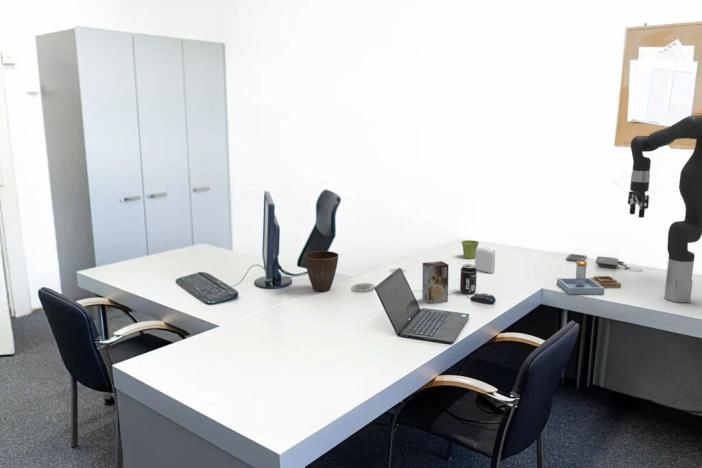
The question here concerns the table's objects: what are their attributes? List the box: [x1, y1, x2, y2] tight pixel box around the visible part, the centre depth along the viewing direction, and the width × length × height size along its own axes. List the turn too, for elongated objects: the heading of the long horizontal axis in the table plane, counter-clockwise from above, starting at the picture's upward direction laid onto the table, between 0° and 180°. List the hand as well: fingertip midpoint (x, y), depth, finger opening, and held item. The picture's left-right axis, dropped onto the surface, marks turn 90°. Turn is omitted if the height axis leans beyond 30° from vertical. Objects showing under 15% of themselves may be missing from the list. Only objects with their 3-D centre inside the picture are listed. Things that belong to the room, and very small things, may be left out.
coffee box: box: [421, 260, 449, 304], centre depth 238 cm, size 9×6×16 cm
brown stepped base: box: [588, 275, 622, 289], centre depth 260 cm, size 10×10×3 cm
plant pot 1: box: [304, 250, 339, 293], centre depth 254 cm, size 15×15×16 cm
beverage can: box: [459, 263, 478, 295], centre depth 249 cm, size 7×7×12 cm
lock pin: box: [575, 260, 588, 288], centre depth 252 cm, size 4×4×12 cm
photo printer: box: [474, 245, 496, 274], centre depth 282 cm, size 10×4×12 cm, turn 39°
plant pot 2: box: [460, 239, 480, 260], centre depth 309 cm, size 9×9×9 cm
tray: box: [556, 277, 606, 296], centre depth 253 cm, size 15×15×3 cm
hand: (636, 215), depth 263 cm, fingers open, 8 cm apart
